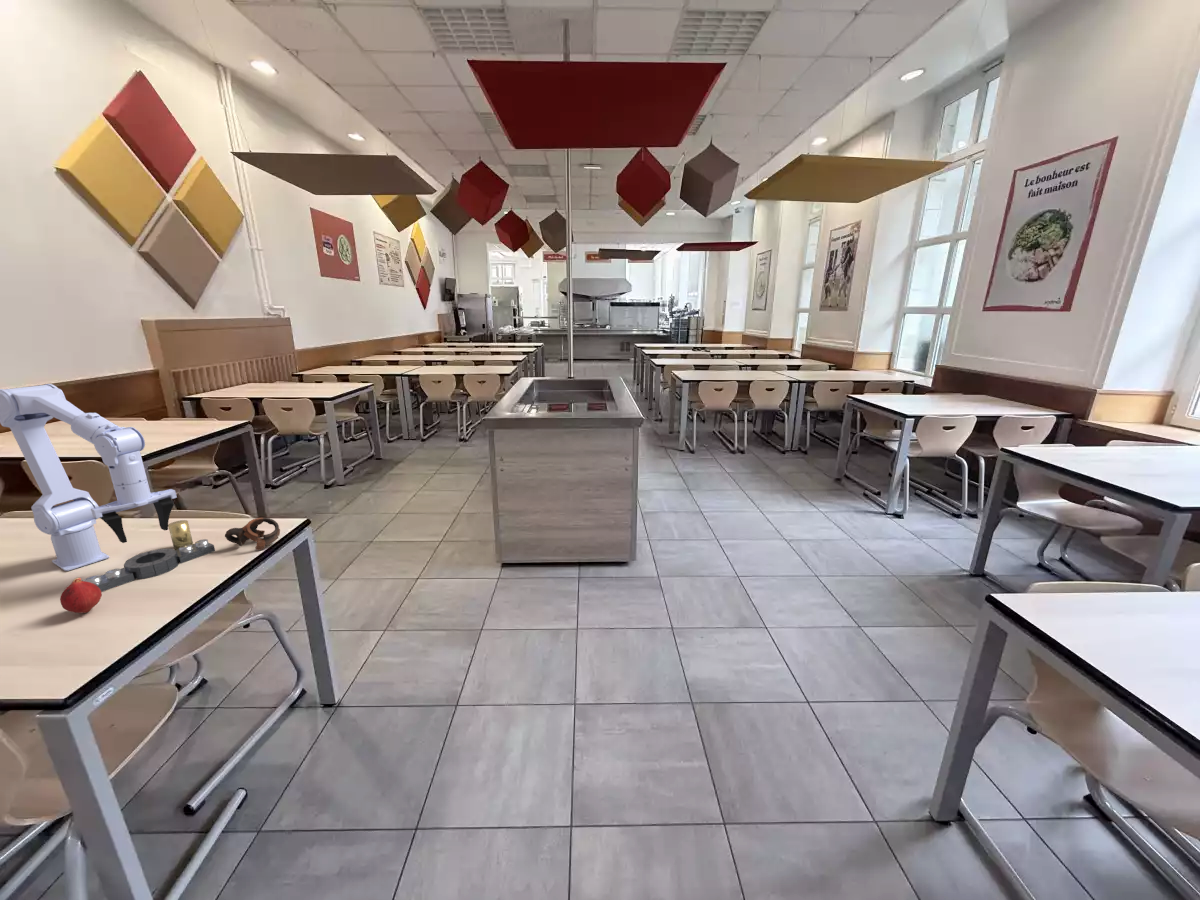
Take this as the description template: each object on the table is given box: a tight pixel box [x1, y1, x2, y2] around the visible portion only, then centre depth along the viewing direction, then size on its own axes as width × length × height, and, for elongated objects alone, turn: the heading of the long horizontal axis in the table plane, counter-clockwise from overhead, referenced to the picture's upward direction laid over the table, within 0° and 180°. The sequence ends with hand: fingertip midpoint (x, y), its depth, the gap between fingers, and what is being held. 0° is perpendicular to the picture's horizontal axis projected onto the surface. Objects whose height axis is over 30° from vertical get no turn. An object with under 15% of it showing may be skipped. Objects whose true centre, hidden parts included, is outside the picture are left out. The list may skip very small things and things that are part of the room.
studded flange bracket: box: [83, 538, 216, 593], centre depth 119 cm, size 9×24×3 cm, turn 152°
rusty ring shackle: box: [224, 517, 281, 551], centre depth 131 cm, size 12×10×8 cm
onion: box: [59, 577, 103, 614], centre depth 101 cm, size 6×6×8 cm
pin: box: [168, 519, 194, 550], centre depth 129 cm, size 4×4×7 cm
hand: (144, 535), depth 115 cm, fingers open, 7 cm apart
